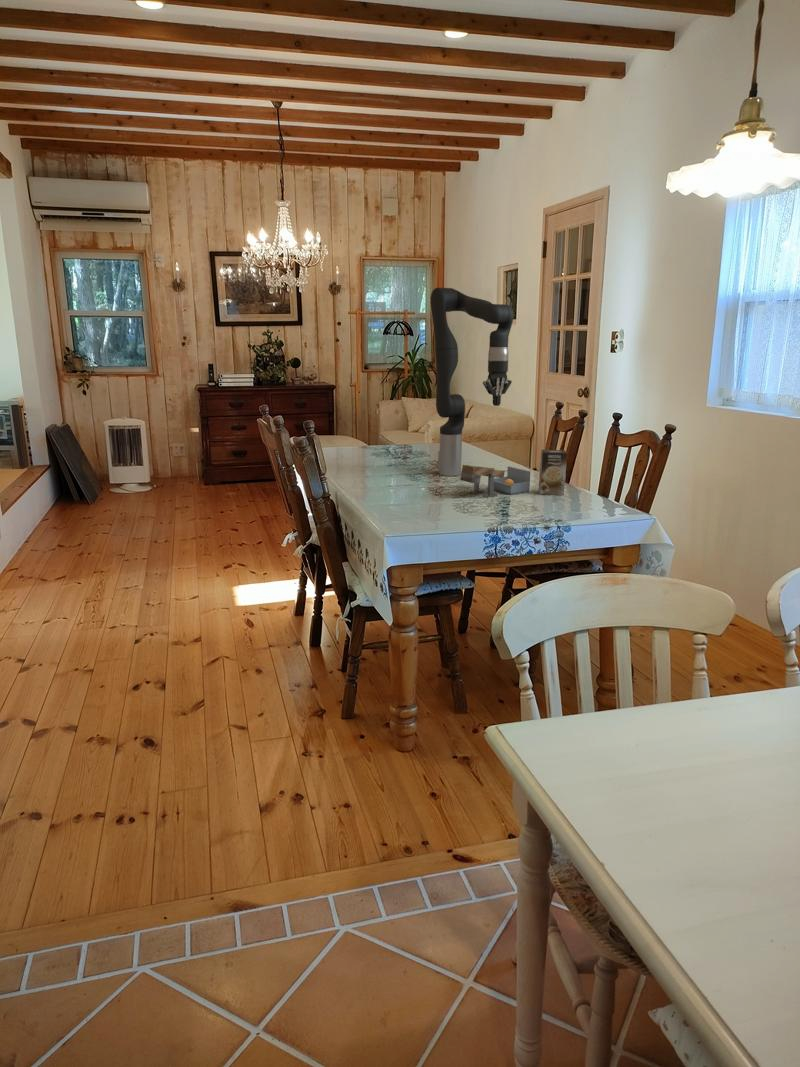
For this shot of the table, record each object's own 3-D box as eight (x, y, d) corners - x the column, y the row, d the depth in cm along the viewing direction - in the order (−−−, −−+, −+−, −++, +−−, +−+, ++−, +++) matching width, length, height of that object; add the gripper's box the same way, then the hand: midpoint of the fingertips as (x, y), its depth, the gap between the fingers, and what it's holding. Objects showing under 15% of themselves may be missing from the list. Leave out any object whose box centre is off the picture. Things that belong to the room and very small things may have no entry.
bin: (510, 495, 277) (511, 473, 275) (489, 489, 287) (490, 468, 285) (529, 492, 282) (530, 471, 280) (508, 486, 292) (508, 466, 289)
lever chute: (471, 482, 269) (473, 467, 268) (446, 475, 281) (448, 461, 280) (502, 485, 277) (504, 471, 276) (476, 478, 290) (478, 464, 289)
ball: (509, 477, 285) (509, 487, 287) (501, 479, 283) (501, 489, 285) (516, 478, 282) (516, 488, 283) (508, 480, 280) (508, 491, 281)
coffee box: (539, 494, 277) (541, 452, 273) (538, 491, 283) (540, 449, 279) (564, 495, 276) (567, 452, 272) (562, 491, 283) (565, 449, 278)
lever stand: (487, 498, 272) (488, 474, 269) (469, 492, 280) (469, 470, 278) (497, 496, 274) (498, 473, 272) (479, 491, 283) (480, 468, 281)
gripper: (505, 358, 288) (503, 403, 293) (478, 359, 281) (476, 405, 286) (518, 359, 282) (515, 405, 287) (491, 360, 275) (489, 407, 280)
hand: (496, 405), depth 287 cm, fingers closed
